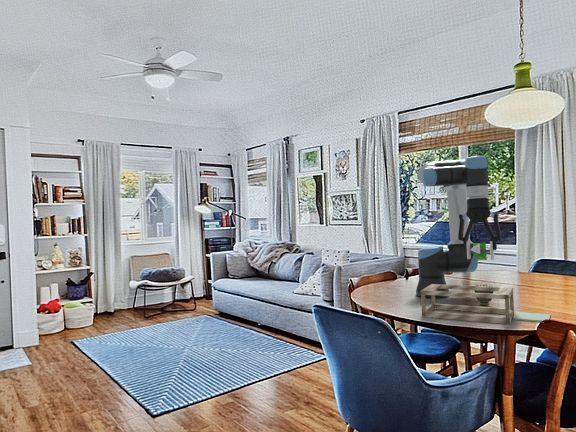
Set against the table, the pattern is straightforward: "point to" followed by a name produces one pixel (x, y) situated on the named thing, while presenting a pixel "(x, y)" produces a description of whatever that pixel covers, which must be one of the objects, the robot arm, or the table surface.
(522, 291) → the table surface
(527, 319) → the felt pad
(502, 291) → the crate
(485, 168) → the robot arm
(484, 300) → the cup
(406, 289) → the table surface
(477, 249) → the geometric puzzle
